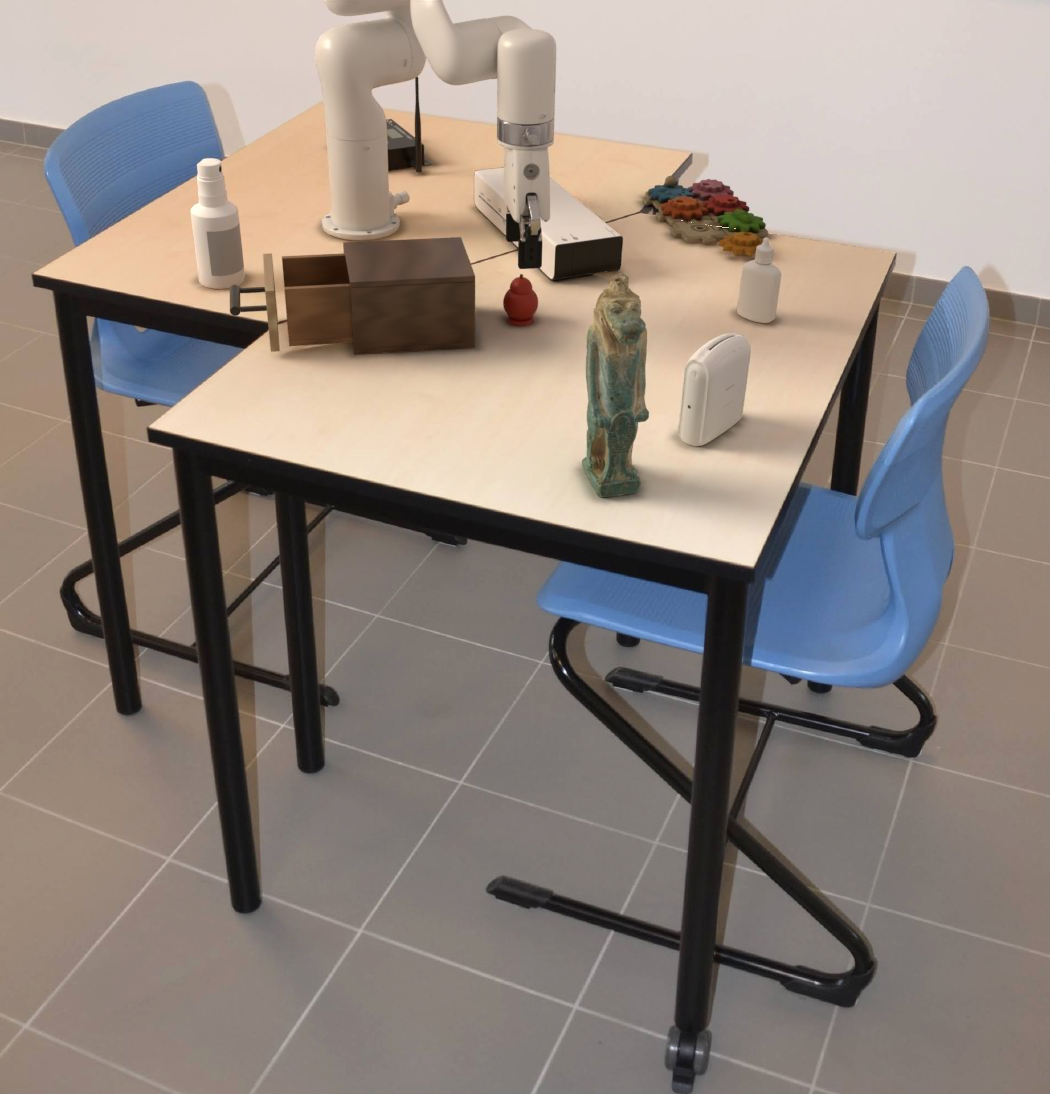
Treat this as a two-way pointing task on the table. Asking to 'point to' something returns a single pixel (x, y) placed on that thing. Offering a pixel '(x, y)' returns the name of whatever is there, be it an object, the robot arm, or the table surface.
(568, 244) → the laminator
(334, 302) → the drawer
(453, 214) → the table surface
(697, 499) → the table surface
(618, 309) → the statue
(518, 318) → the pear
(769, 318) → the eye dropper bottle
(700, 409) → the photo printer
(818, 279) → the table surface
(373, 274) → the cabinet
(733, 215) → the gear puzzle
